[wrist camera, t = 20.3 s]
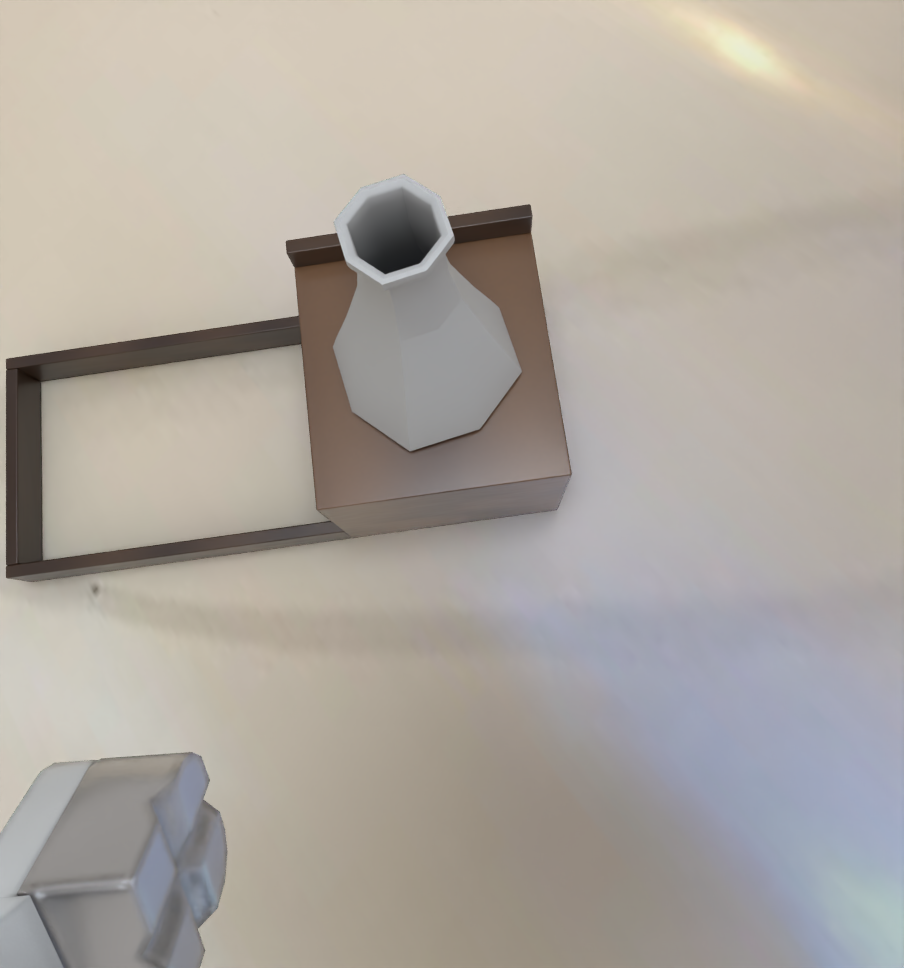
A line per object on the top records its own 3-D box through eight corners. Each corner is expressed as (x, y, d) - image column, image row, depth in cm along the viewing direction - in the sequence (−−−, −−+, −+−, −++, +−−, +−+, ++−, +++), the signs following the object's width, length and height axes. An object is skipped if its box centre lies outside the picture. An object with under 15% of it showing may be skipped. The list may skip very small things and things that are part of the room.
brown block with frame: (523, 300, 39) (530, 203, 31) (557, 509, 37) (575, 467, 28) (29, 372, 40) (-97, 297, 31) (30, 582, 38) (-106, 562, 29)
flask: (303, 345, 31) (214, 207, 21) (447, 246, 32) (424, 68, 22) (405, 484, 30) (359, 403, 20) (553, 378, 30) (579, 249, 21)
